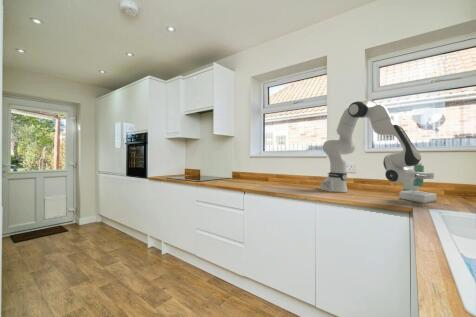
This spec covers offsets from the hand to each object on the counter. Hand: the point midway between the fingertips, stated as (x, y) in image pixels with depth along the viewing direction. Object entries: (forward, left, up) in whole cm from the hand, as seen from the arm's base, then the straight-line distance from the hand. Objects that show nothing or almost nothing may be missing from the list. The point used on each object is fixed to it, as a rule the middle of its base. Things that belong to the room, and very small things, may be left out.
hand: (419, 174), depth 145 cm
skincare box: (-11, +13, -17) cm, 24 cm away
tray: (0, -1, -16) cm, 17 cm away
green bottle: (0, -1, -7) cm, 8 cm away
